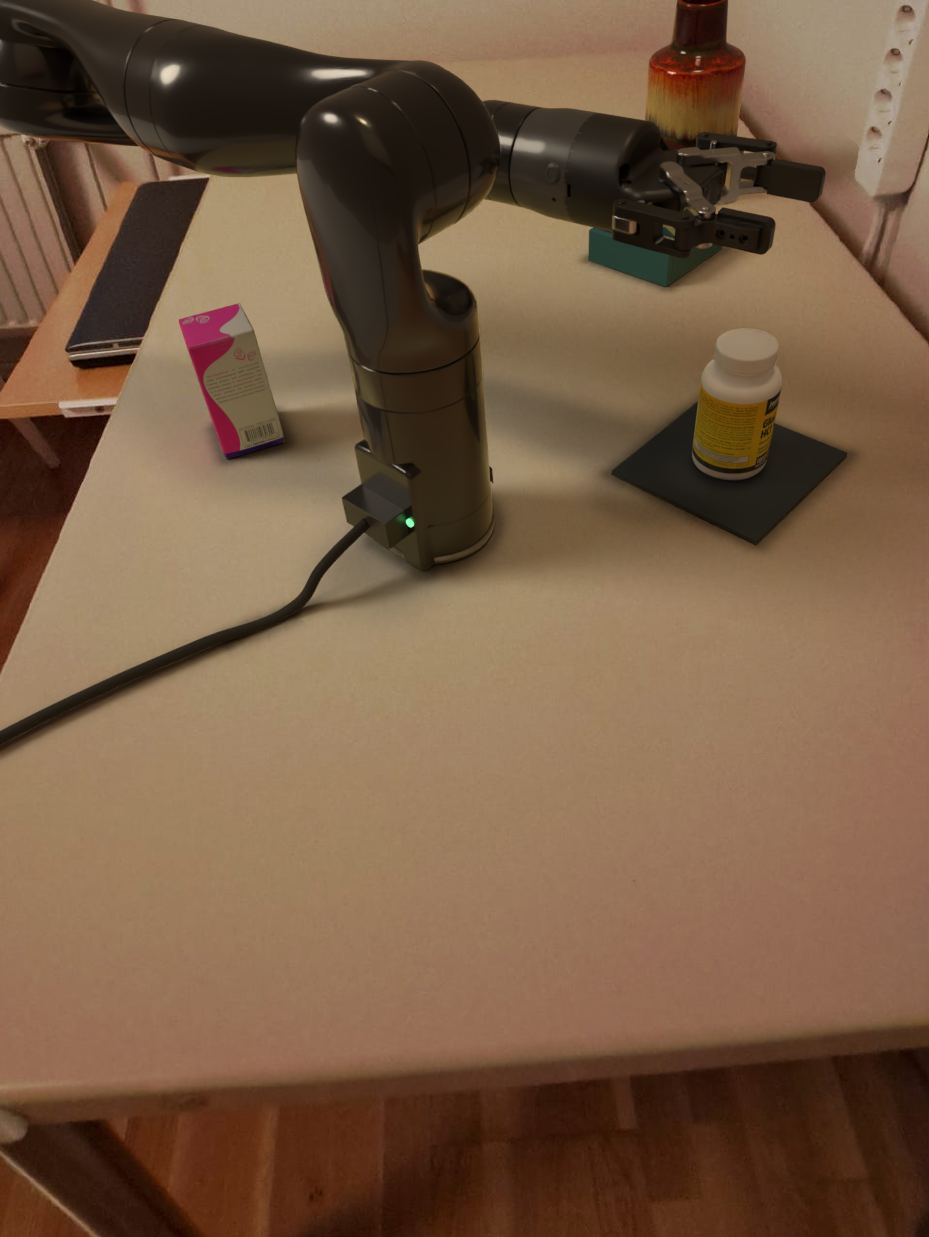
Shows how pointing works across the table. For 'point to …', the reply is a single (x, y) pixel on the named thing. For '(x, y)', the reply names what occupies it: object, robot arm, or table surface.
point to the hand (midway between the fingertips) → (797, 210)
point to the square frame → (643, 258)
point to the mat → (730, 502)
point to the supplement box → (232, 379)
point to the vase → (696, 77)
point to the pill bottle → (737, 405)
